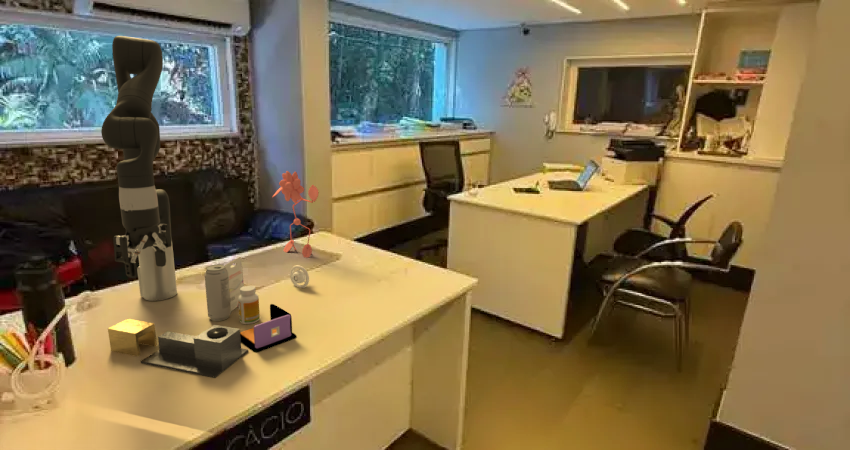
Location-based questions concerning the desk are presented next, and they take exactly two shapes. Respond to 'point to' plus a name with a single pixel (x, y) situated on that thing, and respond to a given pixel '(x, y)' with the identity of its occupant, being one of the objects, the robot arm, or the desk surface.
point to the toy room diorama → (269, 331)
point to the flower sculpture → (293, 191)
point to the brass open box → (131, 336)
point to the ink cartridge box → (235, 281)
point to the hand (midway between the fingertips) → (147, 271)
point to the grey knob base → (198, 351)
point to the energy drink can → (217, 292)
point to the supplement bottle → (248, 305)
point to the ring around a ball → (299, 276)
